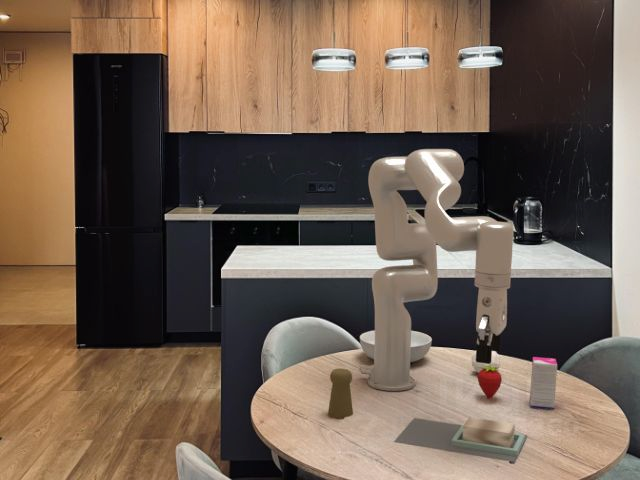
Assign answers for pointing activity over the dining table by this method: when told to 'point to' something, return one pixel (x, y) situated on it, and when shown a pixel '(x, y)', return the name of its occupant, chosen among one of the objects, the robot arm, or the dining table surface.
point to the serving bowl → (418, 344)
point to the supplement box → (543, 383)
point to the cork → (340, 394)
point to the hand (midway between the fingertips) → (488, 356)
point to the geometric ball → (494, 363)
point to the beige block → (489, 432)
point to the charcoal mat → (443, 438)
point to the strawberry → (489, 380)
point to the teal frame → (486, 447)
